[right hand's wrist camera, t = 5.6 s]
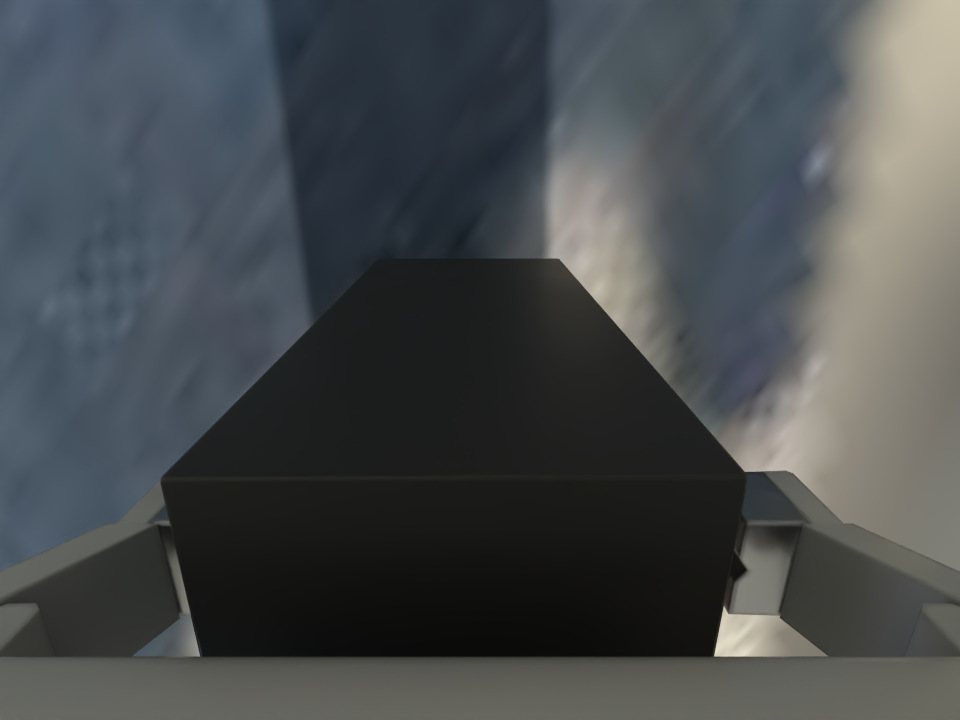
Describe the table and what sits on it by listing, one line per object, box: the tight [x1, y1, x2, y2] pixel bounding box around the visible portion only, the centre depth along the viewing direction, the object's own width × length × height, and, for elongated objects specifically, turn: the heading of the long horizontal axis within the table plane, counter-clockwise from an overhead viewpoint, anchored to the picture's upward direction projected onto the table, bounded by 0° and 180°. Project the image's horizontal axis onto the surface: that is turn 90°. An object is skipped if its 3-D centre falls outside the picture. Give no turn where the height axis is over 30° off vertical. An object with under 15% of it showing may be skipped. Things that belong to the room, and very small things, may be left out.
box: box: [160, 259, 748, 657], centre depth 15 cm, size 21×6×13 cm, turn 0°
